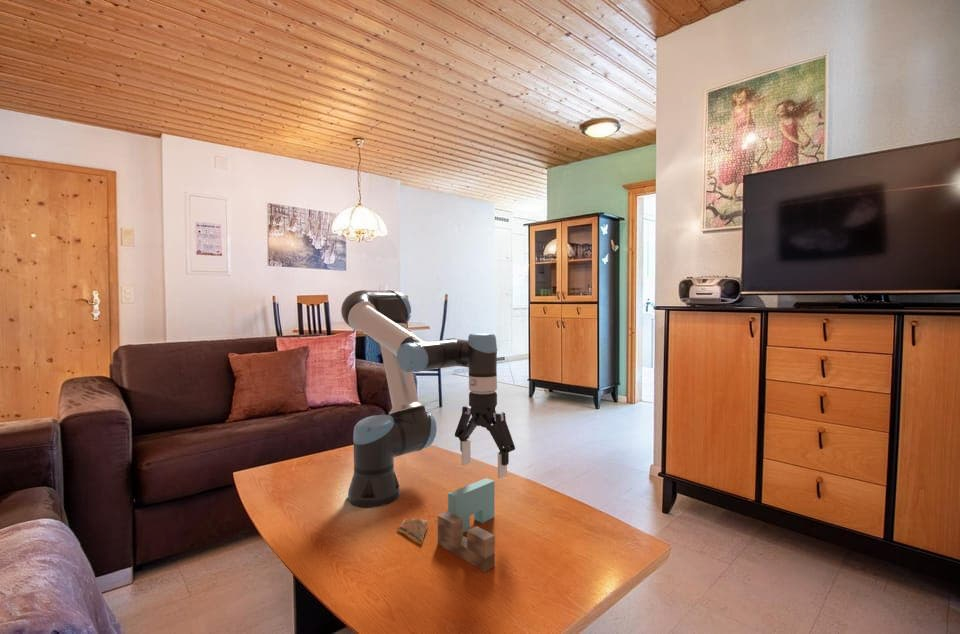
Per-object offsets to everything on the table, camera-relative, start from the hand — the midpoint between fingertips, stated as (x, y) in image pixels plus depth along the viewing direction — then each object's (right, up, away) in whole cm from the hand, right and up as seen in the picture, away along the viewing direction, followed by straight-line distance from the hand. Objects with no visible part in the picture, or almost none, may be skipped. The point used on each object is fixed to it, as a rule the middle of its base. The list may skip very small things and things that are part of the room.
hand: (483, 470), depth 121 cm
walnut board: (-4, -14, -16) cm, 22 cm away
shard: (-16, -14, -6) cm, 23 cm away
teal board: (-3, -14, -2) cm, 14 cm away
